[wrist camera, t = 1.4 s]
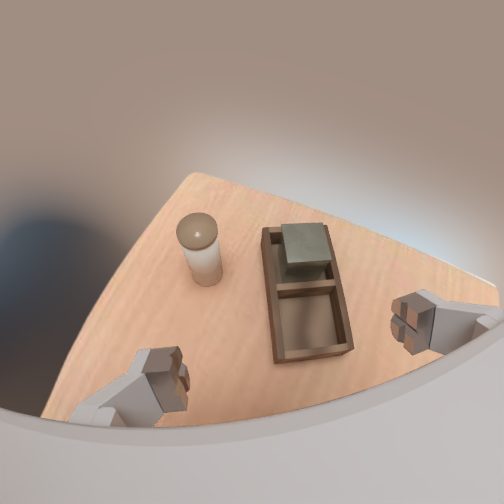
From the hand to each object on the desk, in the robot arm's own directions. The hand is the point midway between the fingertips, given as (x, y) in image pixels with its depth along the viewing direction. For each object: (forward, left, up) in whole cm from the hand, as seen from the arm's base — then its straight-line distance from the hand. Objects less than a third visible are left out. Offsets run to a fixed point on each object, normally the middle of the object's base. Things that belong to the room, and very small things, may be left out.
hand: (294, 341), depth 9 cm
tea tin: (+8, +18, -31) cm, 37 cm away
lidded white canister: (-7, +19, -32) cm, 38 cm away
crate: (+8, +13, -32) cm, 36 cm away
